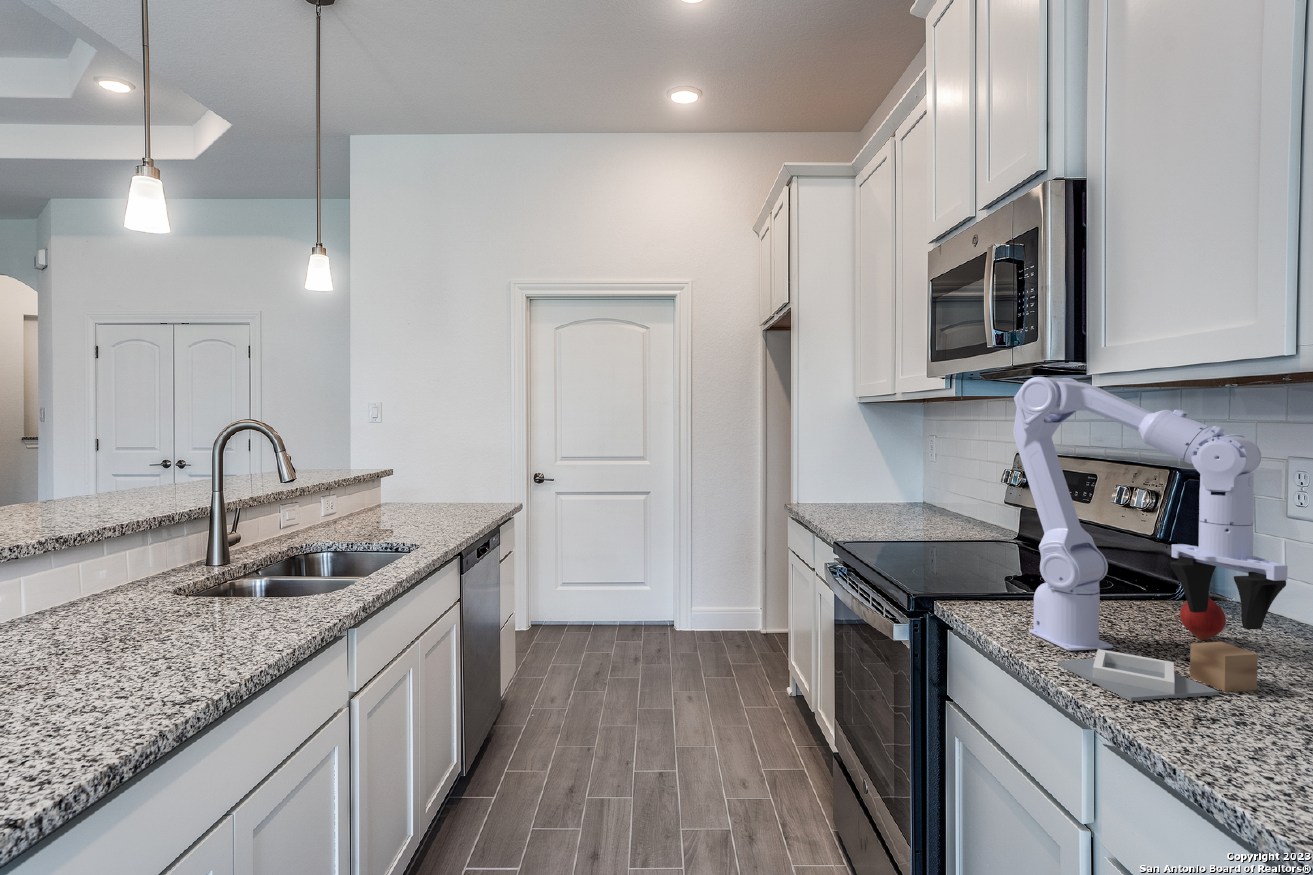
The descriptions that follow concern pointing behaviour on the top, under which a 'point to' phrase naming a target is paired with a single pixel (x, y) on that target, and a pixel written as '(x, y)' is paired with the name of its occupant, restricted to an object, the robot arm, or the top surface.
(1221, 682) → the block
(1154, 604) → the top surface
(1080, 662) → the base plate
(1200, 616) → the onion
